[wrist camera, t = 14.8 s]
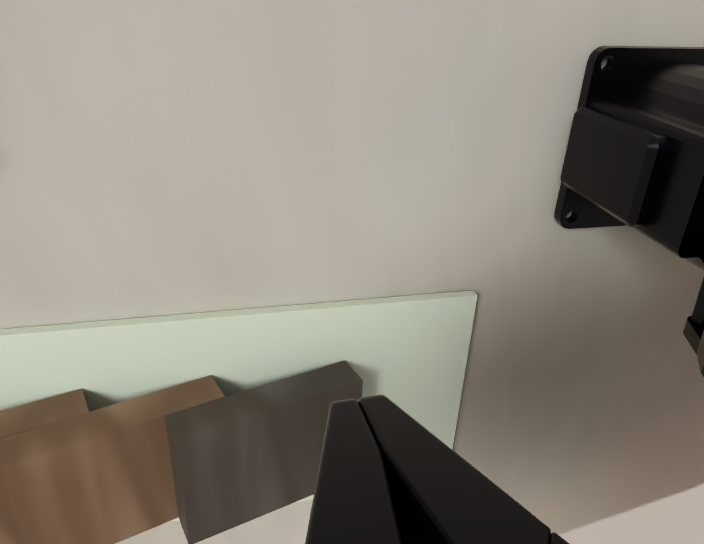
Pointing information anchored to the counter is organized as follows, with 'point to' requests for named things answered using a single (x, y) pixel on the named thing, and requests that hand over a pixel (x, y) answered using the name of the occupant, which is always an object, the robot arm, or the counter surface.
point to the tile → (253, 448)
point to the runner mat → (255, 353)
